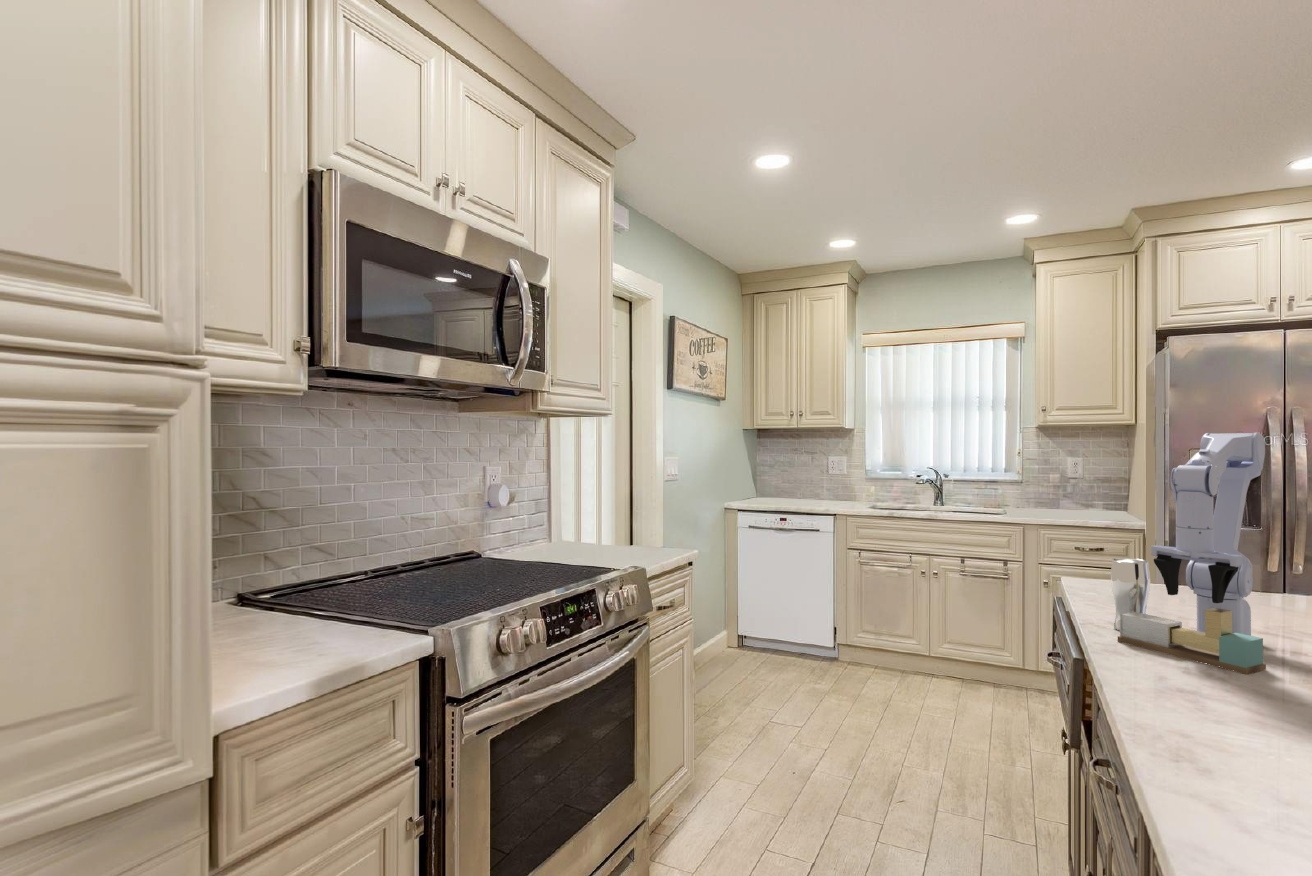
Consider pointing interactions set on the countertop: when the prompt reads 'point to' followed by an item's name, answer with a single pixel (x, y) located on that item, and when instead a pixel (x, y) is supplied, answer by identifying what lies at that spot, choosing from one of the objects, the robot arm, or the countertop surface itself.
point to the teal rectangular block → (1241, 650)
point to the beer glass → (1129, 586)
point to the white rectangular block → (1147, 628)
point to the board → (1193, 655)
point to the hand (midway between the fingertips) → (1194, 598)
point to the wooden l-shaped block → (1215, 626)
